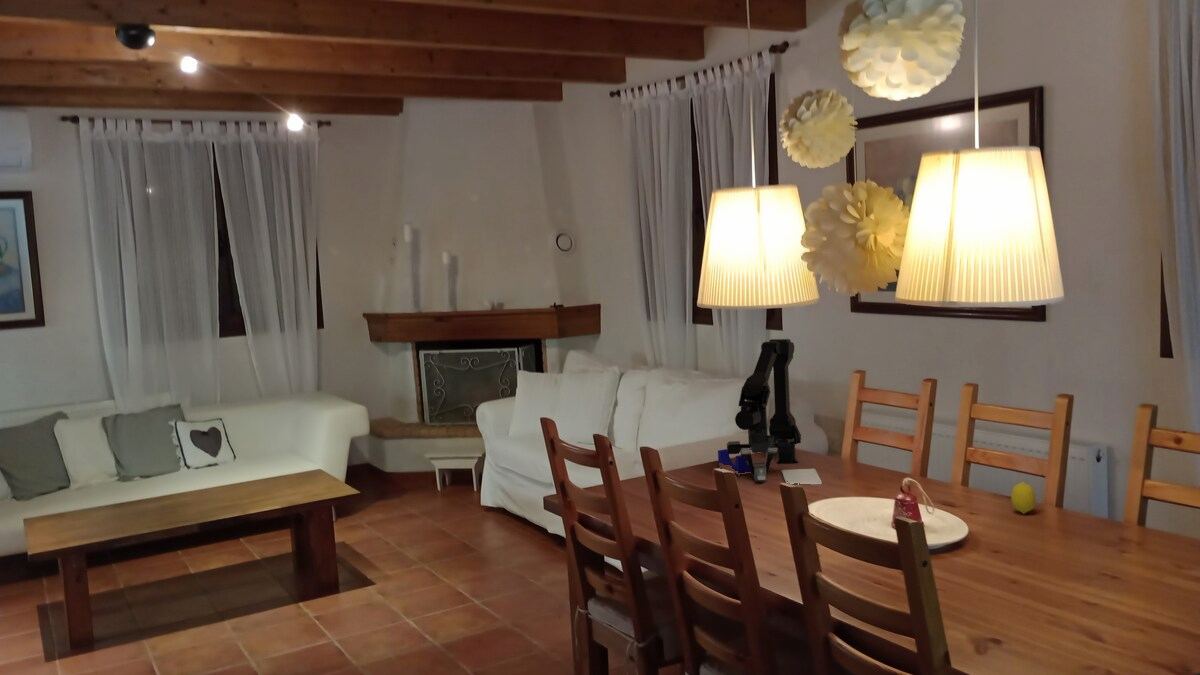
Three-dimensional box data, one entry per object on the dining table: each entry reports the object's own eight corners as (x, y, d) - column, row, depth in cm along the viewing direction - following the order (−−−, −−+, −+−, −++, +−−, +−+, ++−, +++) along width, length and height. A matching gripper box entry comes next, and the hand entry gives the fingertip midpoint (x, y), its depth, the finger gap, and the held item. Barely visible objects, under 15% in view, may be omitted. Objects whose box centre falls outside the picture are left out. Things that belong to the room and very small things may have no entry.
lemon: (1022, 518, 229) (1021, 485, 228) (1006, 512, 234) (1005, 481, 234) (1041, 515, 230) (1040, 482, 230) (1025, 509, 236) (1024, 478, 235)
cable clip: (751, 473, 293) (750, 454, 292) (739, 476, 291) (738, 456, 290) (730, 466, 304) (729, 448, 303) (718, 468, 302) (717, 450, 301)
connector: (755, 484, 277) (755, 471, 276) (753, 474, 289) (752, 461, 289) (768, 484, 276) (767, 470, 276) (764, 474, 289) (764, 461, 288)
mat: (781, 472, 290) (781, 470, 290) (814, 471, 289) (814, 468, 289) (786, 485, 275) (786, 482, 275) (821, 484, 274) (821, 481, 274)
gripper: (726, 430, 276) (729, 482, 277) (791, 427, 274) (794, 480, 275) (725, 423, 287) (728, 473, 288) (787, 420, 285) (790, 471, 286)
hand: (759, 474), depth 284 cm, fingers closed on connector, 3 cm apart
